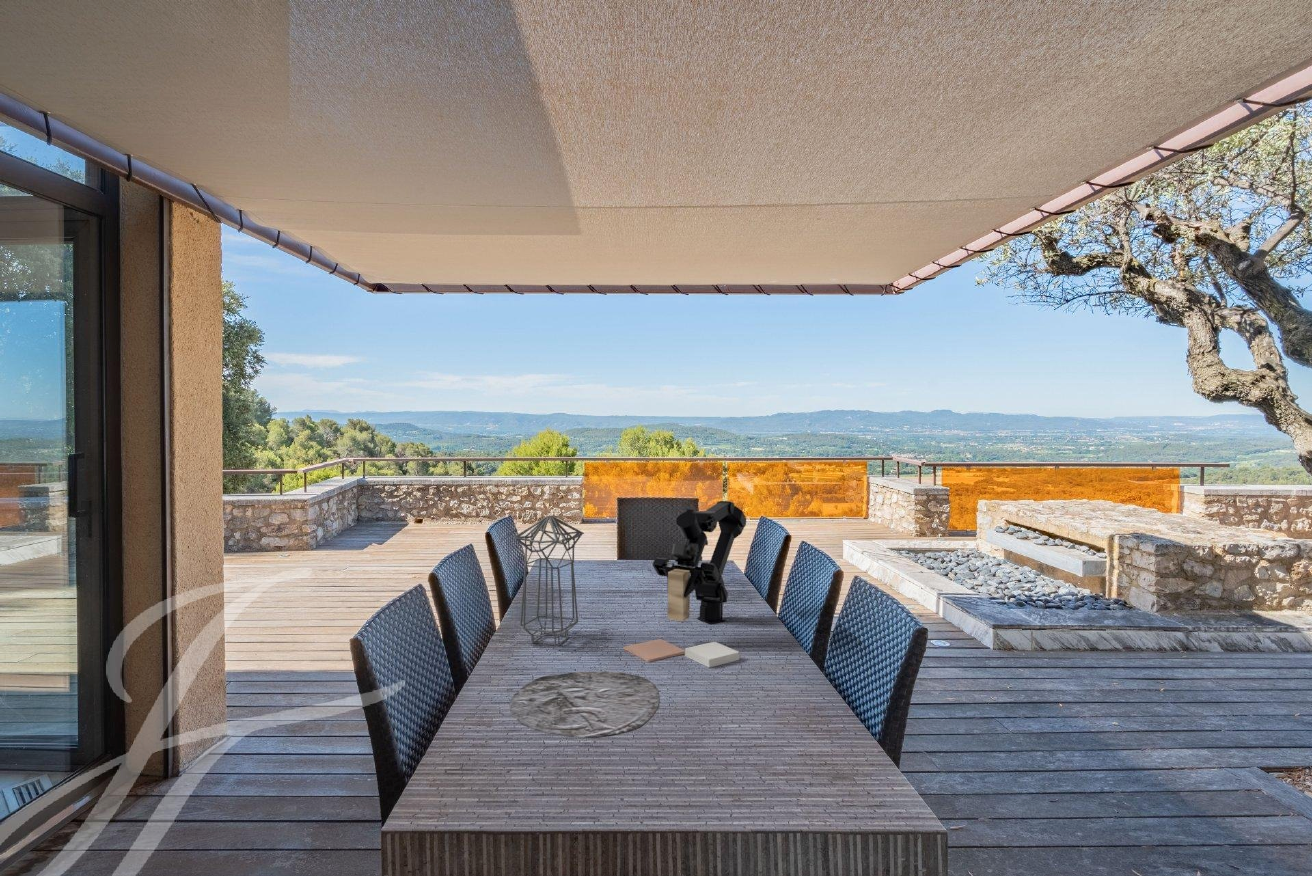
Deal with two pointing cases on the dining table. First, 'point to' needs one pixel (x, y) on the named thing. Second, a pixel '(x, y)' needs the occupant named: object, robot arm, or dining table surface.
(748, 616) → the dining table surface
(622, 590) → the dining table surface
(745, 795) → the dining table surface
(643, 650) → the terracotta tile
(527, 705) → the worn metal disc
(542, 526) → the geometric lantern
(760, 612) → the dining table surface
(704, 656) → the white square tile
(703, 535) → the robot arm
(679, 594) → the oak block
